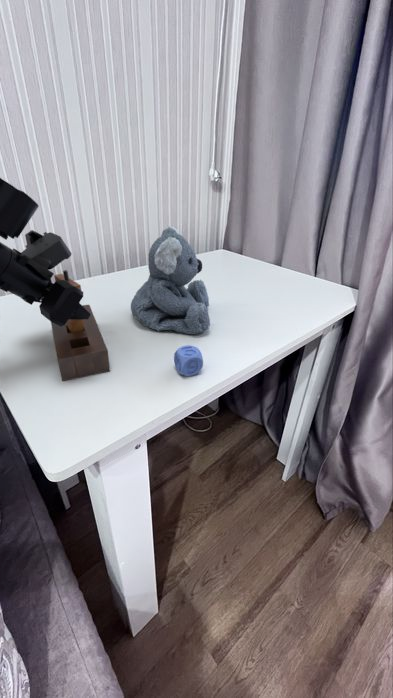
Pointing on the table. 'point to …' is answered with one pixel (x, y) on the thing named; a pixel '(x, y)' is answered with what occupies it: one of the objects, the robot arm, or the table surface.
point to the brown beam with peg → (77, 324)
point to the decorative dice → (188, 360)
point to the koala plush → (172, 288)
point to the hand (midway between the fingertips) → (80, 310)
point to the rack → (80, 349)
